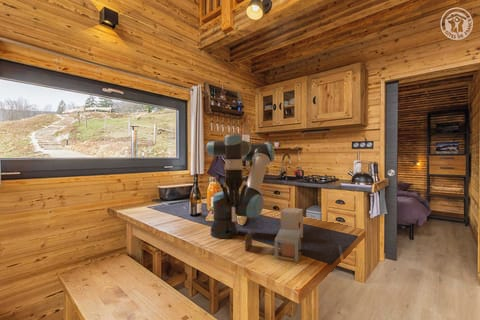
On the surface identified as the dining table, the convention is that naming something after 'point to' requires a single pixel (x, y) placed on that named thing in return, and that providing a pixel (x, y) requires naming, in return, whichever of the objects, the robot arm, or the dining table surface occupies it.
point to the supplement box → (292, 219)
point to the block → (287, 249)
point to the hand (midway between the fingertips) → (234, 220)
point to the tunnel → (288, 240)
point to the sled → (260, 249)
